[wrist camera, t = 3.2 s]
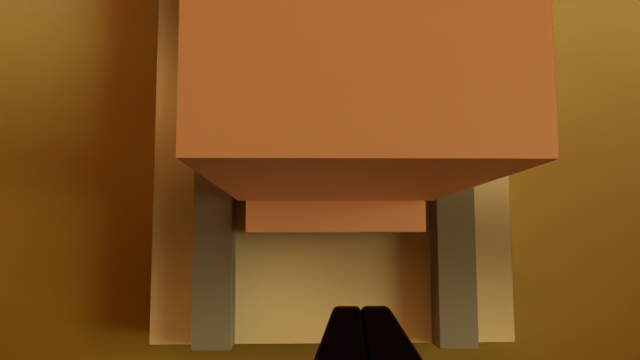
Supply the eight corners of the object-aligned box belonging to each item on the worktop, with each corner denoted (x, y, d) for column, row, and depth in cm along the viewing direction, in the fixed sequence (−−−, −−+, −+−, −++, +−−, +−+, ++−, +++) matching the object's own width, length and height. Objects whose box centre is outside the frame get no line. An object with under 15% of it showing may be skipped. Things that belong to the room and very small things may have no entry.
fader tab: (424, 232, 17) (561, 219, 8) (242, 233, 16) (173, 220, 8) (421, 90, 17) (548, -74, 8) (243, 90, 17) (181, -78, 8)
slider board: (491, 331, 19) (528, 348, 16) (165, 333, 18) (139, 351, 15) (474, -208, 20) (504, -285, 17) (179, -214, 20) (158, -294, 17)
